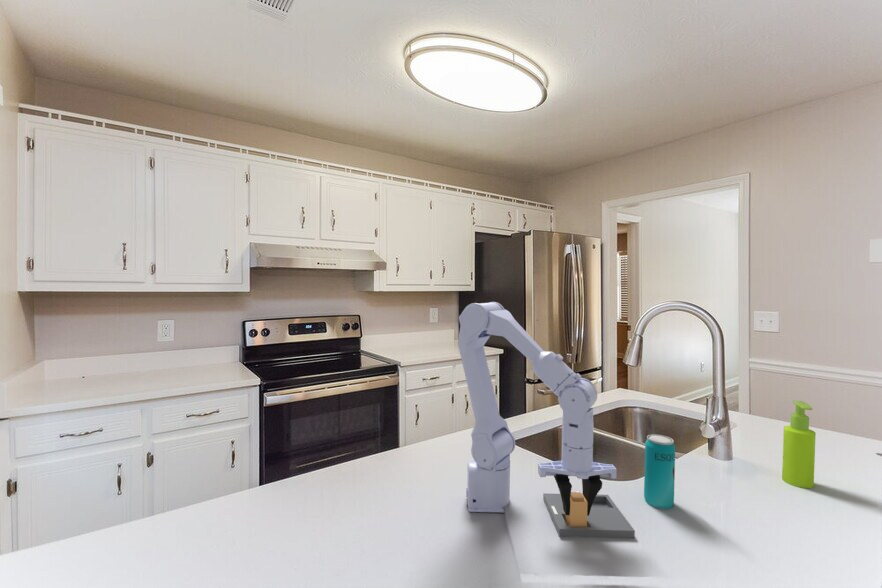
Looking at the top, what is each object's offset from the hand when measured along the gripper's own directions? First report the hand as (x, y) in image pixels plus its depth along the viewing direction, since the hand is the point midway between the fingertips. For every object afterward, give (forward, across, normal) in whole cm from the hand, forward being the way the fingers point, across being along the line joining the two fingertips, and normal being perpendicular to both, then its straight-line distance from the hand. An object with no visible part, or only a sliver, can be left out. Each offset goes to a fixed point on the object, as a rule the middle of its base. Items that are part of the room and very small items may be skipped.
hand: (575, 512), depth 80 cm
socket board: (+4, +3, +4) cm, 6 cm away
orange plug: (+2, 0, 0) cm, 2 cm away
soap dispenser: (+4, +61, +22) cm, 65 cm away
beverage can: (+4, +21, +10) cm, 24 cm away
